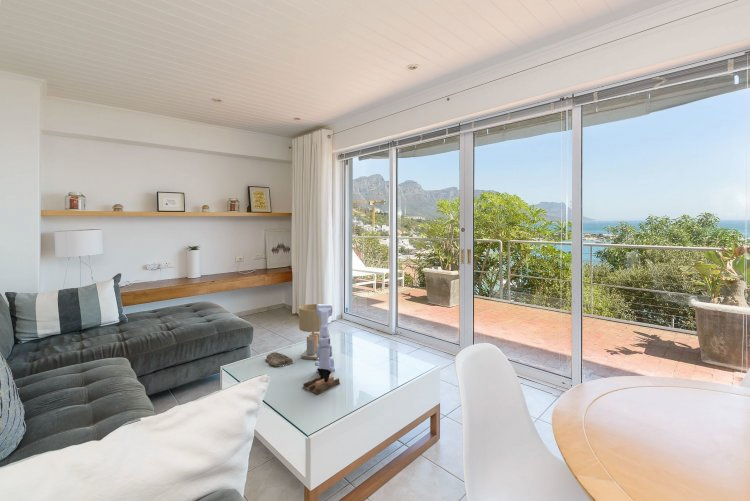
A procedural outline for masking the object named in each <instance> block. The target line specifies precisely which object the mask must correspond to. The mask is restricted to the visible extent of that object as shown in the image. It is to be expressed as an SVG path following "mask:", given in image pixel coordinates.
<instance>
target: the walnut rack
mask: <svg viewBox="0 0 750 501" xmlns="http://www.w3.org/2000/svg"><path fill="white" fill-rule="evenodd" d="M319 380H321V378H320V375H319V376H317V377H315V378H313V379H311V380H308V381H305V382H303V383H302V389H303V390H305V391H307V392H309V393H311V394H312V395H313V394H314V395H315V396H318V395H320V394H322V393H324V392H326V391H328V390H330V389H332V388H335V387H336V386H339V385H341V382H340V378H339V377H338V378H334V380H333V381H331V382H328V383H326V384H324V385H322V386H320V387H318V388H316V389H315V382H316V381H319Z"/></svg>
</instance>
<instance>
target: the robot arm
mask: <svg viewBox="0 0 750 501" xmlns="http://www.w3.org/2000/svg"><path fill="white" fill-rule="evenodd" d="M316 304H317V316H319V317H320V318H321V327H320V331H319V333H320V339H319V344H318V345H317V358H318V356H319V359H318V361H316V362H314V366H315V367H318V368H317V369H316V370H315V372H316V373H318V374H319V376H320V378H321V379H323V378H324V381H325V382H328V379H329V376H330V375H331V373H334V372H335V371H336V370H335V369H336V368H335V359H334V357H333V345H332V344H331V335H330V327H329V324H328V323H329V317H331V316H333V304H332V303H321V304H319V303H316ZM318 304H319V306H318Z"/></svg>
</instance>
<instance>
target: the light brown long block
mask: <svg viewBox="0 0 750 501" xmlns="http://www.w3.org/2000/svg"><path fill="white" fill-rule="evenodd" d="M333 380H335V376H334V375H331V374H330V376H329V379H328V382H331V381H333ZM328 382H325V381H324V378H323V379H321V380H319V381H316V382H315V389H316V388H318V387H320V386H322V385H324V384H326V383H328Z"/></svg>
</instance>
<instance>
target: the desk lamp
mask: <svg viewBox="0 0 750 501" xmlns="http://www.w3.org/2000/svg"><path fill="white" fill-rule="evenodd" d="M317 304H318V306H319V303H308V304H303V305H300V306H299V307H298V328H299V330H300V331H301V332H304V333H305V332H306V333H311V334H309V335H308V336H306V350H304V352H302V353H301V354H300V355H299V357H301V358H302V359H303V358H305V360H314V359H316V360H315V361H317V360H318V361H319V359H318V358H319V356H318V358H317V345H318V344H319V339H320V327H321V318H320V317H319V316H317Z"/></svg>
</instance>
